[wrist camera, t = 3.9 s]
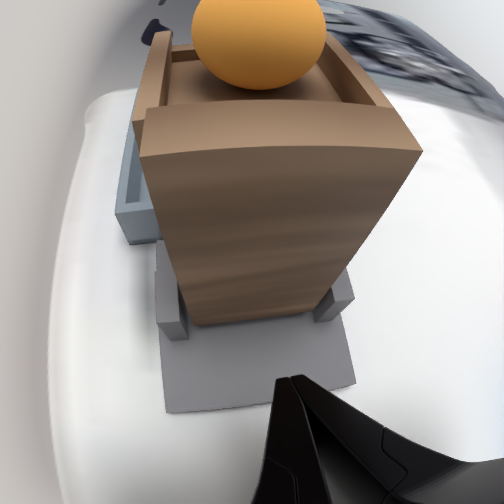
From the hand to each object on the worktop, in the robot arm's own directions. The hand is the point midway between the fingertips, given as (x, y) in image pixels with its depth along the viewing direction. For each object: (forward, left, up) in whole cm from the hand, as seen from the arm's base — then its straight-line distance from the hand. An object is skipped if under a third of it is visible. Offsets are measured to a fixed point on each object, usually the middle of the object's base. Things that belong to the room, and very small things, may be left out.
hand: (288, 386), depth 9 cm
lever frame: (+5, 0, -8) cm, 9 cm away
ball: (+9, 0, +6) cm, 11 cm away
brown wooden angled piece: (+8, 0, -5) cm, 9 cm away
